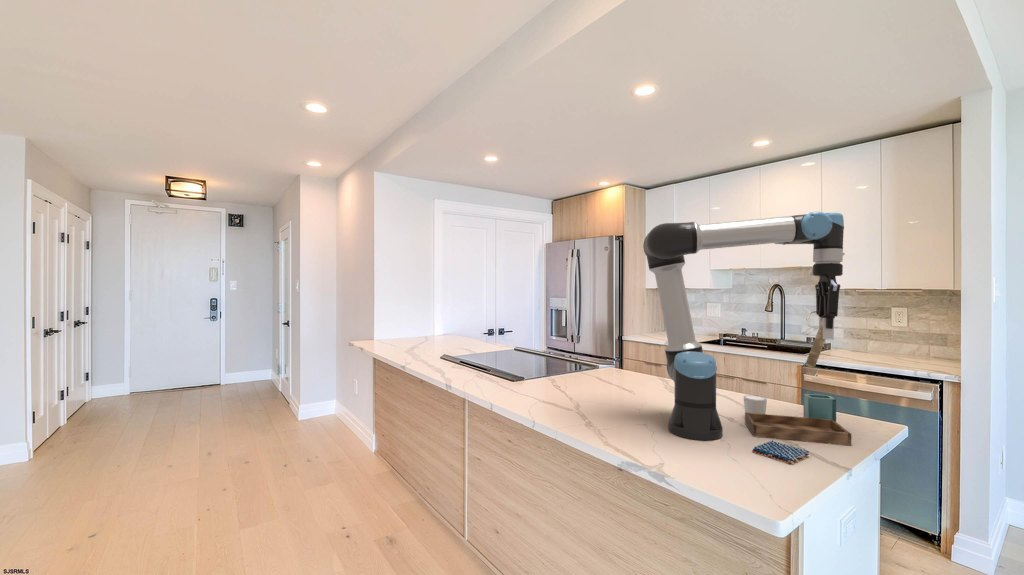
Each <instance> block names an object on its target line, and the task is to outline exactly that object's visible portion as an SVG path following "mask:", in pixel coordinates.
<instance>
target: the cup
mask: <svg viewBox="0 0 1024 575" xmlns="http://www.w3.org/2000/svg"><path fill="white" fill-rule="evenodd" d="M803 417H805V418H818V419H830V420H834V421H835V422H837V399H836V398H835V397H833V396H831V395H830V394H829V395H827V394H817V393H816V394H815V393H814V394H813V393H803Z"/></svg>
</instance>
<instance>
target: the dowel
mask: <svg viewBox="0 0 1024 575" xmlns="http://www.w3.org/2000/svg"><path fill="white" fill-rule="evenodd" d="M822 333H823V319H822V322H821V324H820V327H819V326H818V329H817V332H816V336H815V337H814V341H813V343H812V345H811V349H810V351H809V354H808V356H807V359H806V361H805V364H804V366H806V367H809V368H812V369H815V368H816V365H817V362H818V360H819V358H820V355H821V352H822V350H823V347H824V345H825V341H826V340H827V339H822Z"/></svg>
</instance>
